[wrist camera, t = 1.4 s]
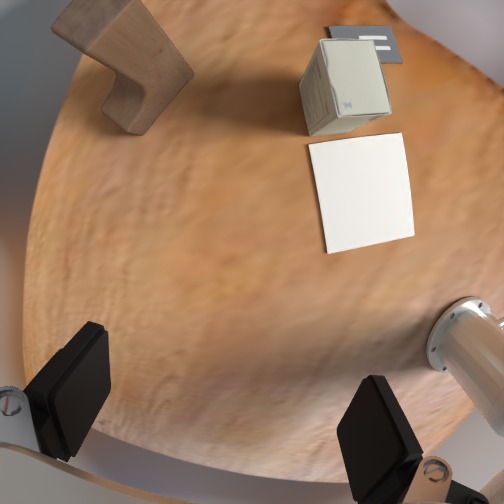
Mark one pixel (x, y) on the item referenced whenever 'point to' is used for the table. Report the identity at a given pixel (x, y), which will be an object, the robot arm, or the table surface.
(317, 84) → the skincare box
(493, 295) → the table surface
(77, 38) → the wooden block
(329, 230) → the note sheet
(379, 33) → the slate card
